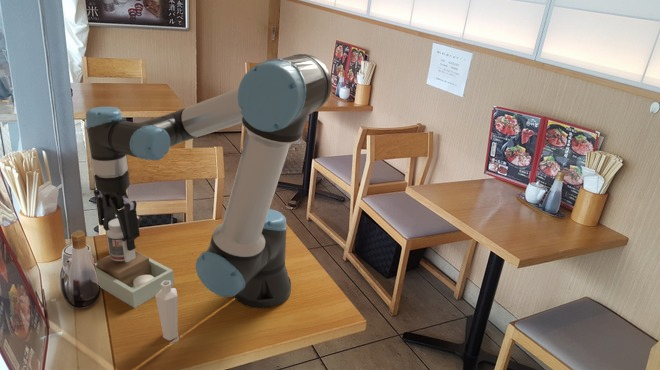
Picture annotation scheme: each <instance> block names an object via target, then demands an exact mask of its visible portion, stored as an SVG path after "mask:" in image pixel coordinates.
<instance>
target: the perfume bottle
mask: <svg viewBox="0 0 660 370" xmlns="http://www.w3.org/2000/svg"><path fill="white" fill-rule="evenodd" d="M161 286H162V289H161V290H160V291H159V292H158V293H157V294H156V296H155V301H156V306H157V311H158V315H159V321H160V326H161V330H162V338H164V339H165V340H166V341H170V342H169V343H168V345H169V344H170V345H172V344H174V343H176V342H178V341H180V336H179V333H178V332H179V331H178V329H179V328H178V315H179V314H178V313H179V312H178V308H179V307H178V292H177V288H175V287H171V281H163V282H162V283H161Z"/></svg>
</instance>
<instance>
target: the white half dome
mask: <svg viewBox="0 0 660 370" xmlns="http://www.w3.org/2000/svg"><path fill="white" fill-rule="evenodd" d="M153 278H154V277H153V276H151V275H141V276H138V277H137V278H135V279H134V281H133V283H134V289H135V288H137V287H139V286H140V285H142V284H144V283H146V282H148V281H150V280H151V279H153Z"/></svg>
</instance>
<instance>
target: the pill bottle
mask: <svg viewBox="0 0 660 370" xmlns="http://www.w3.org/2000/svg"><path fill="white" fill-rule="evenodd" d="M108 226H109V229H110V230H109V231H108V233H107V236H108V242H107V244H108V243H109V248H108V251H109V250H110V253H109V255H110V256H111V259H113V260H115V261H125V260H124V252H123V244H122V240H121V239H123V238H124V237H123V233H122V230H121V227H120V224H119V221H118V217H117V218H116V217H115V219H113V220H111V221H109V223H108ZM107 236H106V237H107Z"/></svg>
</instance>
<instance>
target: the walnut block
mask: <svg viewBox="0 0 660 370" xmlns="http://www.w3.org/2000/svg"><path fill="white" fill-rule="evenodd" d="M136 251H137V250H135V255H136V258H135V259H133V260H131V261H128V262H125V261H115V260H113V259H111V256H110V254H109V255H107V256H104V257H102V258H100V259H97V260H96V262H95V263H97V268H98V269H100V270H101V271H103V272H105V273H107V274H108V275H110V276H112V277H113V278H115V279H117V280H119V281H120V282H122V283H124V284H126V285H127V286H129V287H131V288H132V287H134V283H133V281H134V279H135V278H137V277H138V276H141V275H151V274H150V264H149V258H150V257H148V256H146V255H144V254H143V253H141V254H140V252H139V253H138V251H137V252H136ZM142 254H143V255H142Z"/></svg>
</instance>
